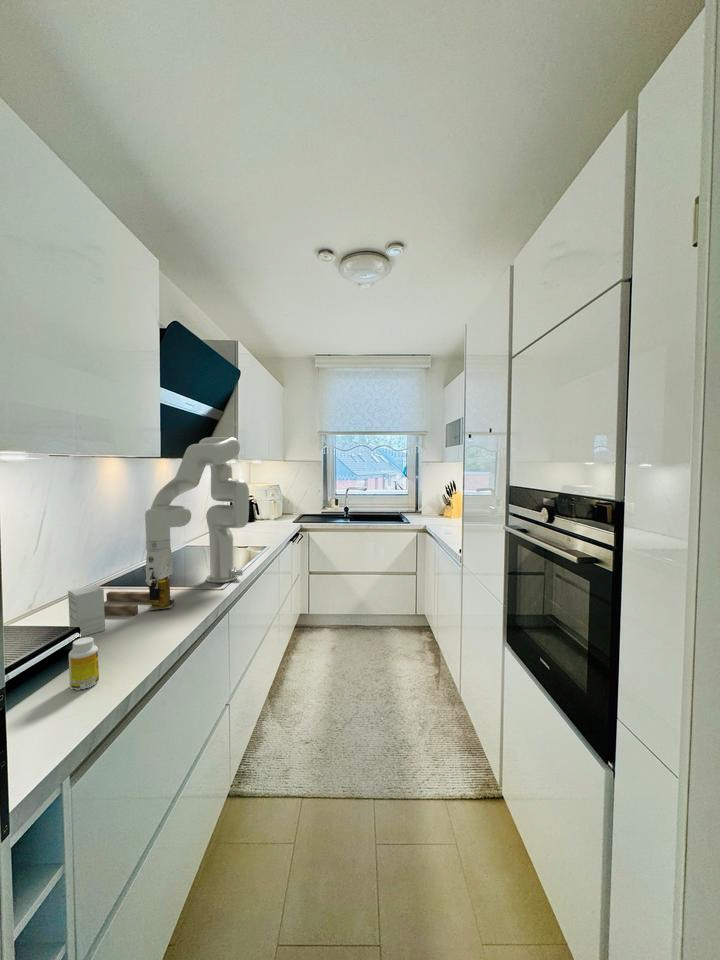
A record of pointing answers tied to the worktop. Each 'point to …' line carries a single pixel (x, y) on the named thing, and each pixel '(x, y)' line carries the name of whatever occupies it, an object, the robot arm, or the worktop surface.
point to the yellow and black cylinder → (162, 595)
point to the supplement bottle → (83, 664)
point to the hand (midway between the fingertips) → (159, 596)
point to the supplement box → (87, 609)
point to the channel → (125, 608)
